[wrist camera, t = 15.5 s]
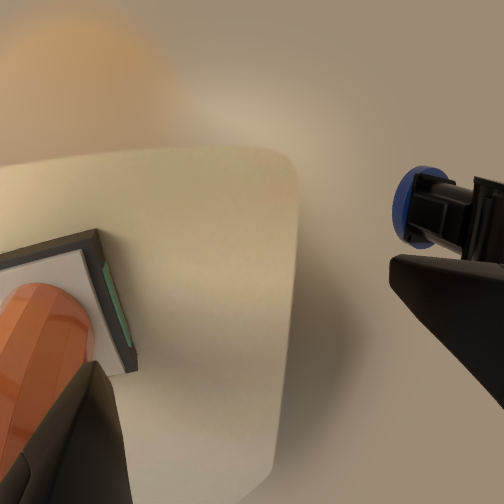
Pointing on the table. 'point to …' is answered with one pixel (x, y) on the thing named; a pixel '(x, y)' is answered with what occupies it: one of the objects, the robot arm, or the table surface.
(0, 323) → the cup
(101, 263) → the scale
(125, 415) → the table surface
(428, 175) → the robot arm
